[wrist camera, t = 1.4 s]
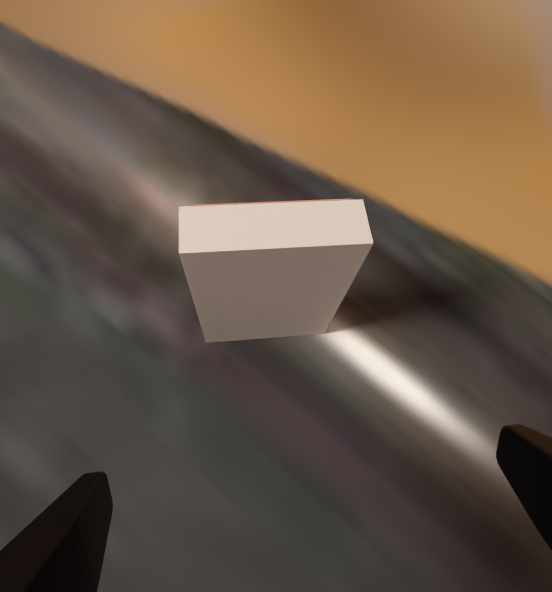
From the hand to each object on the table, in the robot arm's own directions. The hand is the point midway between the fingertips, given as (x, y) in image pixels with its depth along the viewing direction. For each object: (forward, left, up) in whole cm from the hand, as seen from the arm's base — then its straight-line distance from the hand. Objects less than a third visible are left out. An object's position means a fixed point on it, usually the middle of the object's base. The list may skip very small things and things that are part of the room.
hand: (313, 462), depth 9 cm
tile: (+8, -2, -12) cm, 15 cm away
